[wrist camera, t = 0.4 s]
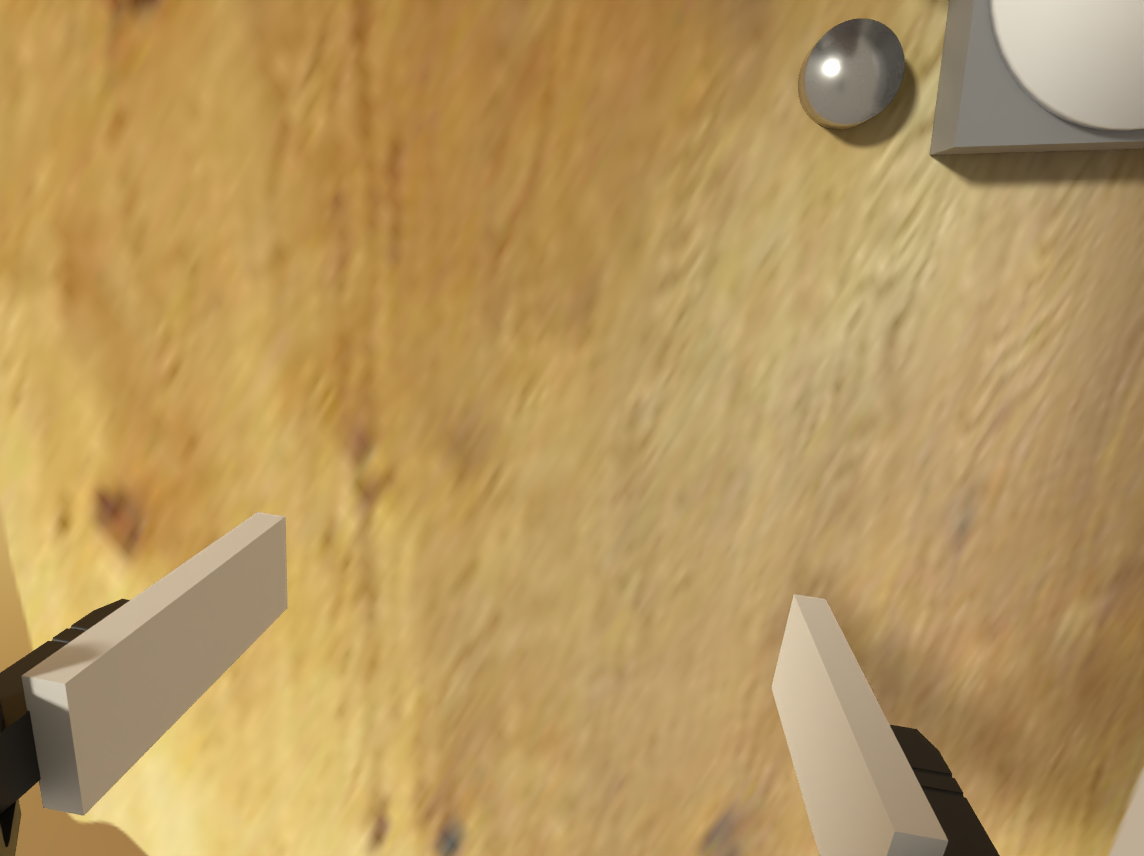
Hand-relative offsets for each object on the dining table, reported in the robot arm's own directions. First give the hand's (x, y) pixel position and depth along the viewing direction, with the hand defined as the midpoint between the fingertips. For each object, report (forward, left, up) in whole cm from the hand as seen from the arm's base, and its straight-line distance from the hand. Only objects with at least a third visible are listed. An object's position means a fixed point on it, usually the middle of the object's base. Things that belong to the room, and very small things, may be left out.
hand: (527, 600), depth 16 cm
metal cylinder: (-17, +14, -27) cm, 35 cm away
